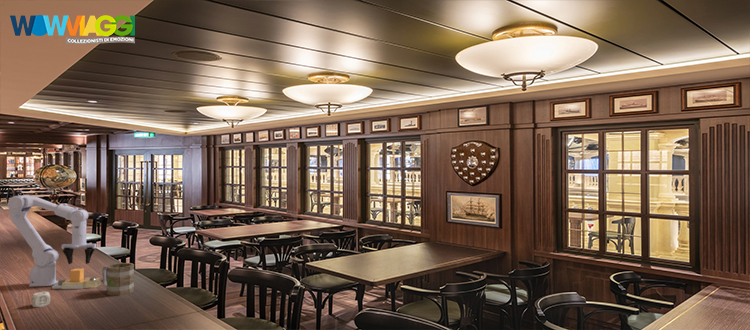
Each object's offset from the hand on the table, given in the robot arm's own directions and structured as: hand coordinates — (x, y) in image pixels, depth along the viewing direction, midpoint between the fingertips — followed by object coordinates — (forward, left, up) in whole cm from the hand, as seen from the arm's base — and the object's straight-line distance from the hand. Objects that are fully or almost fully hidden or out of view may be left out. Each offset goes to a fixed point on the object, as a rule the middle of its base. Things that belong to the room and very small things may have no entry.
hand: (79, 263), depth 210 cm
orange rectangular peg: (+2, -7, -9) cm, 12 cm away
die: (+1, -33, -10) cm, 35 cm away
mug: (+23, -17, -10) cm, 31 cm away
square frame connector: (+2, -6, -9) cm, 12 cm away
